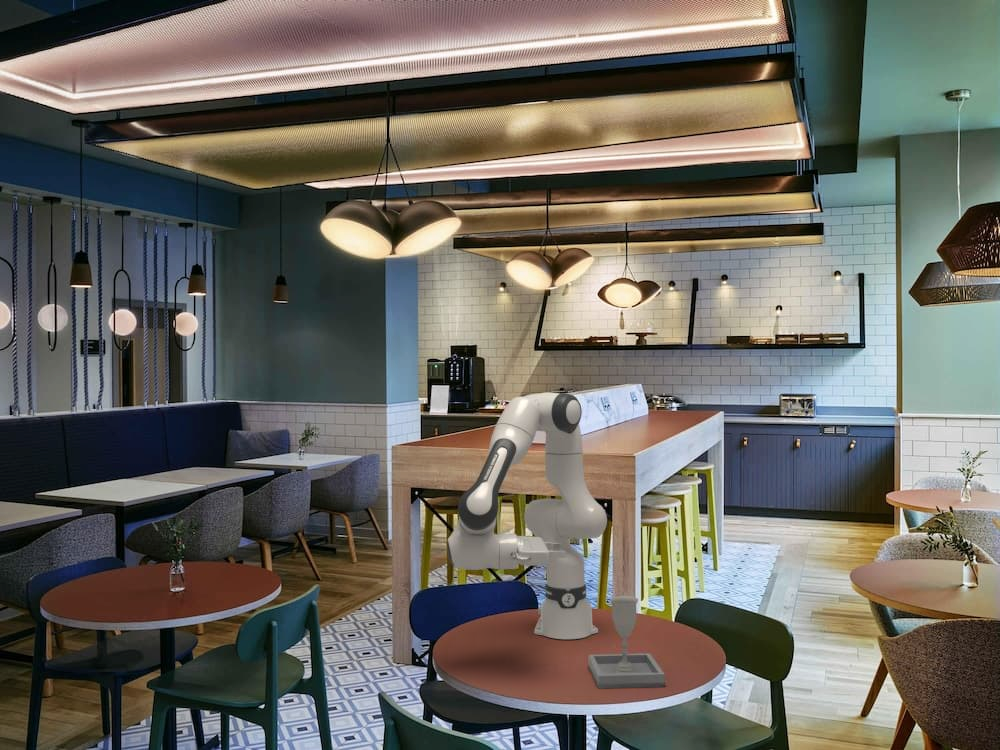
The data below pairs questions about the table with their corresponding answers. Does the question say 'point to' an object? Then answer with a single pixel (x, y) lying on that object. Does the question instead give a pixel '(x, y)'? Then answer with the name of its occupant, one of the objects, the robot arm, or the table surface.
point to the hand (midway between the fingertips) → (563, 550)
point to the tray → (643, 676)
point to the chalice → (624, 626)
